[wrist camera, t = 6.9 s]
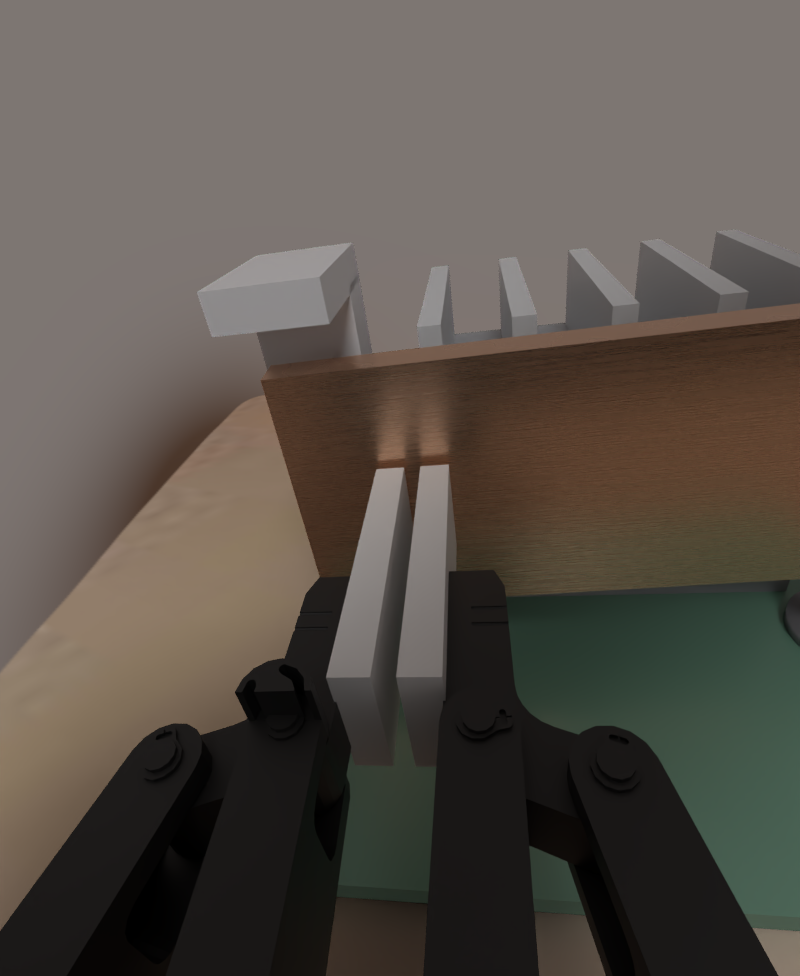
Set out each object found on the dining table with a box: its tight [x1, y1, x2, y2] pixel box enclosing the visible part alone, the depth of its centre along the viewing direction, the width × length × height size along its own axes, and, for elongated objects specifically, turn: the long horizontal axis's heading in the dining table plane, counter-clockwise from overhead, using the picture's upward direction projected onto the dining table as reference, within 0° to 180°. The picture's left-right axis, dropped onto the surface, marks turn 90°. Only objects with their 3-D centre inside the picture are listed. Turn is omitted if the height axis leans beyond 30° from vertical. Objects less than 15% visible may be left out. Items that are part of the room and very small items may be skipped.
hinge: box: [261, 303, 800, 596], centre depth 15 cm, size 18×2×12 cm, turn 87°
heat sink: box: [197, 229, 800, 931], centre depth 17 cm, size 20×19×14 cm
